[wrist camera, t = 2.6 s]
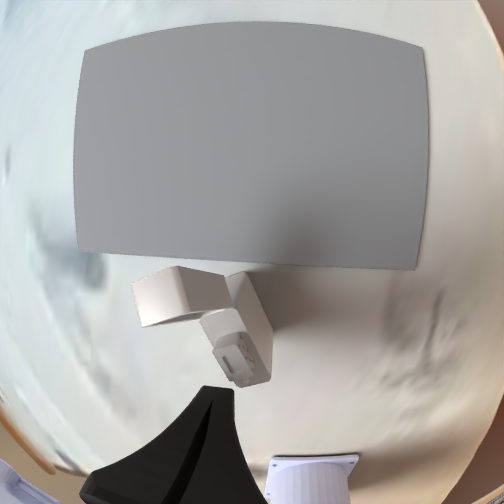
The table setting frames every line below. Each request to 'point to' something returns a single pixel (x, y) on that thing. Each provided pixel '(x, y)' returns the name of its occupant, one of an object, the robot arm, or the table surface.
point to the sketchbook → (498, 499)
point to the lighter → (213, 317)
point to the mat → (253, 146)
